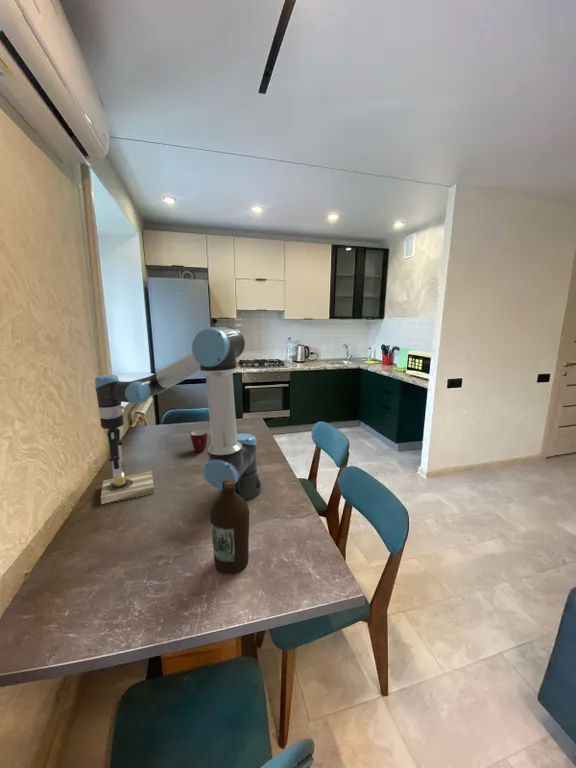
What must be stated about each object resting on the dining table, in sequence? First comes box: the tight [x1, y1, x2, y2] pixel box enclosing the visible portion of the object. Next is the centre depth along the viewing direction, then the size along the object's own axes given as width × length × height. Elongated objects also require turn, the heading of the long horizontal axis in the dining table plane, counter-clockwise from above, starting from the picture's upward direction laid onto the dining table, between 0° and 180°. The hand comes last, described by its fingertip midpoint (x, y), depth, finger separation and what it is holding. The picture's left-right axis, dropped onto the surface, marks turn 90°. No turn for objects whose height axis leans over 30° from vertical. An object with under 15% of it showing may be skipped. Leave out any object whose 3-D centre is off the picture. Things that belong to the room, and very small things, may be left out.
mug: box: [190, 429, 208, 453], centre depth 160 cm, size 10×8×10 cm
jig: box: [100, 471, 155, 505], centre depth 125 cm, size 14×18×3 cm
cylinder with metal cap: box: [112, 470, 126, 489], centre depth 123 cm, size 4×4×8 cm
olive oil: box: [209, 479, 250, 575], centre depth 86 cm, size 11×11×25 cm
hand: (118, 468), depth 122 cm, fingers open, 13 cm apart
